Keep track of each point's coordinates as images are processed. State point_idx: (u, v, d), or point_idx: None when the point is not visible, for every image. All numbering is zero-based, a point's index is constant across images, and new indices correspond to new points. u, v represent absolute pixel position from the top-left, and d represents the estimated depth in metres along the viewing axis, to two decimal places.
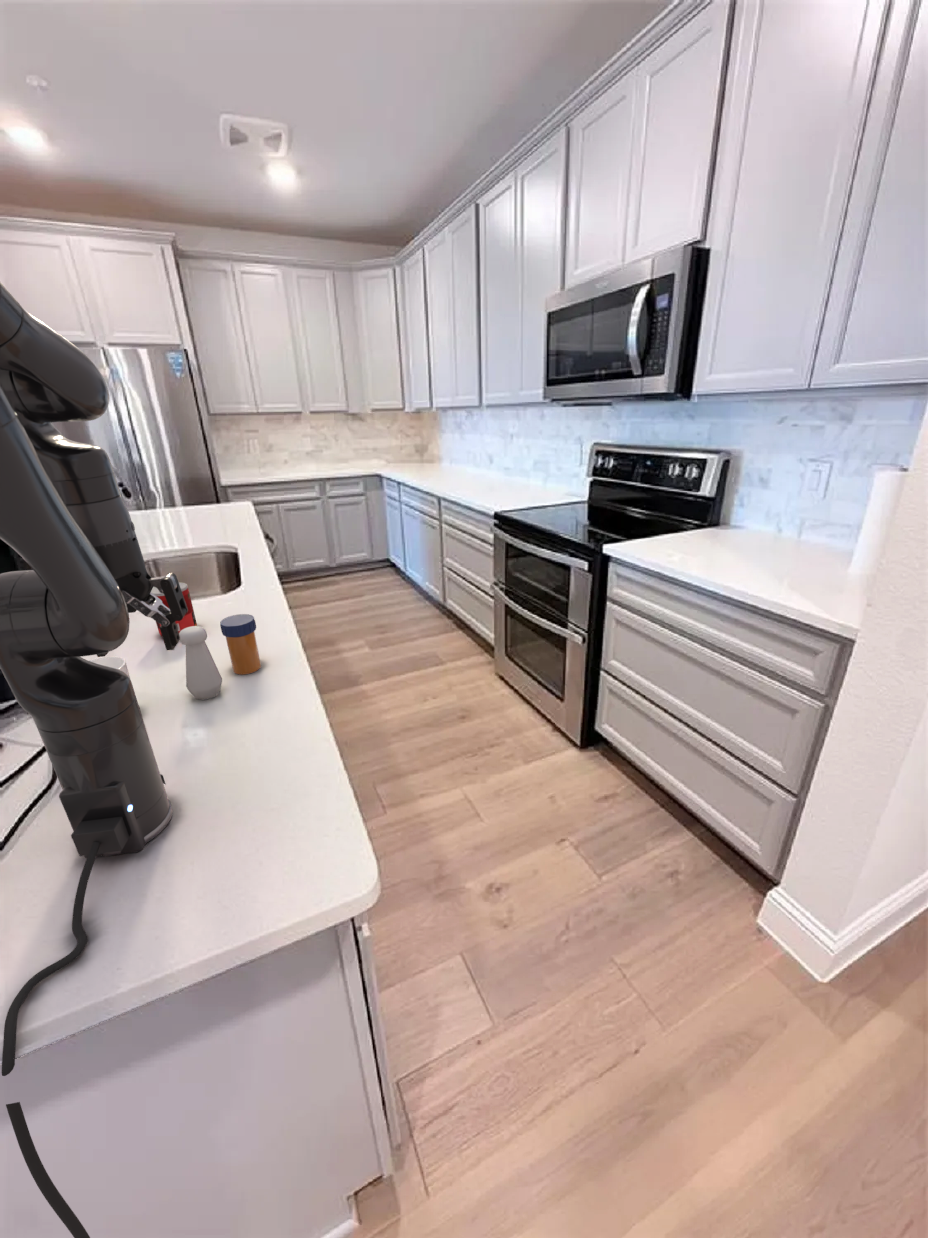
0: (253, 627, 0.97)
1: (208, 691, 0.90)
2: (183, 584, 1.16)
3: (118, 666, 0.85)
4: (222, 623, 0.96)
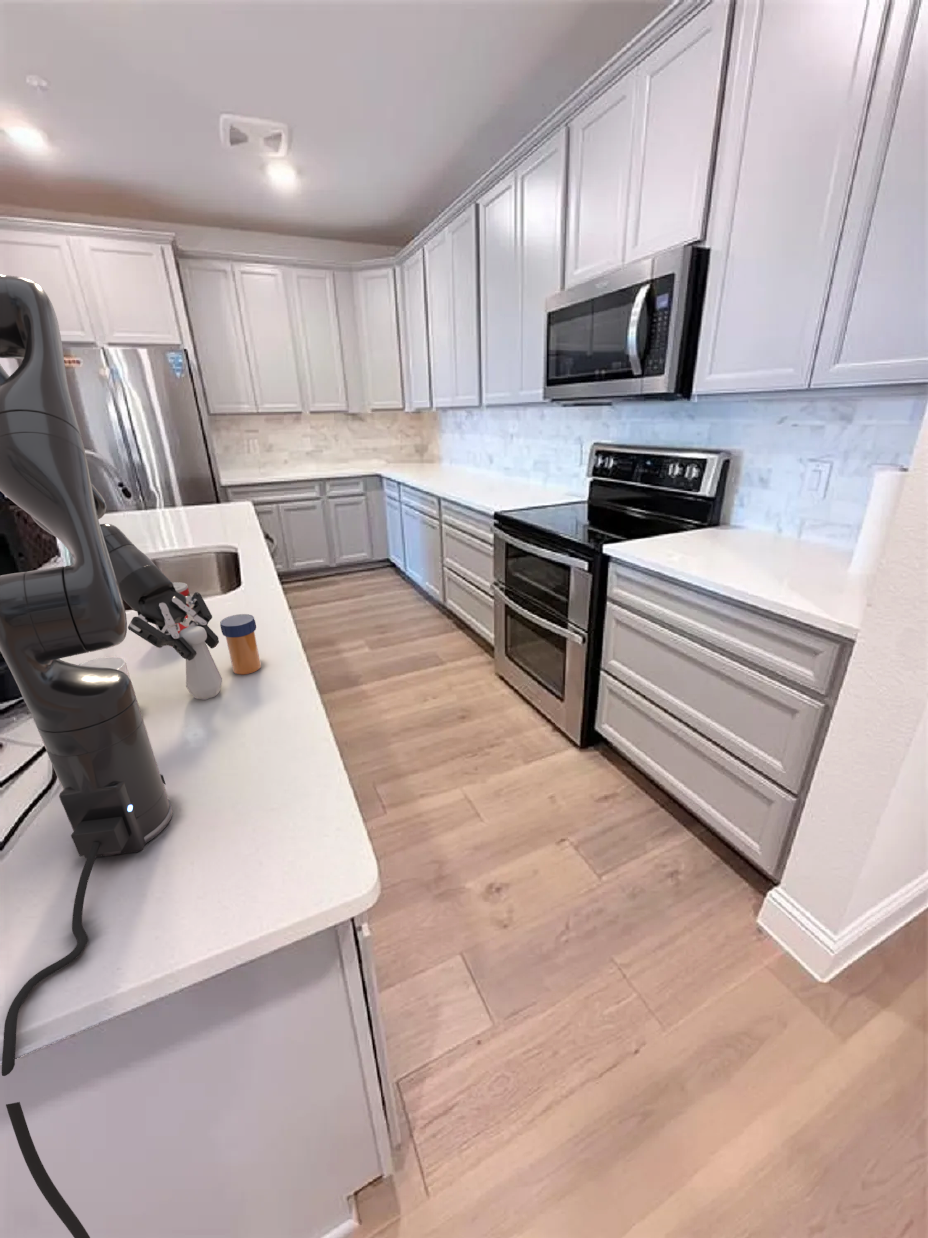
0: (253, 627, 0.97)
1: (208, 691, 0.90)
2: (183, 584, 1.16)
3: (118, 666, 0.85)
4: (222, 623, 0.96)
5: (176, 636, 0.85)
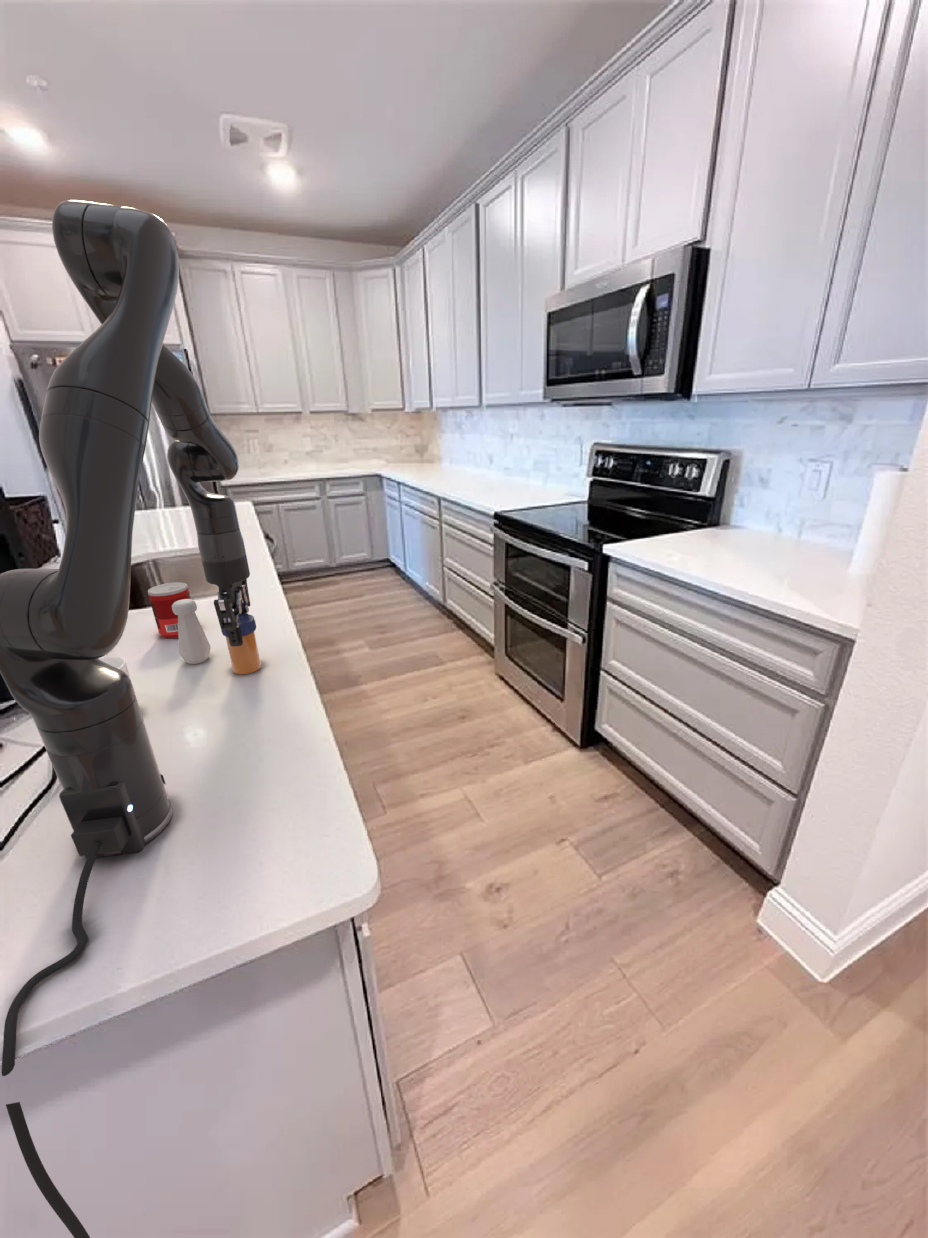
0: (253, 627, 0.97)
1: (198, 656, 1.02)
2: (183, 584, 1.16)
3: (118, 666, 0.85)
4: None
5: (239, 625, 0.94)
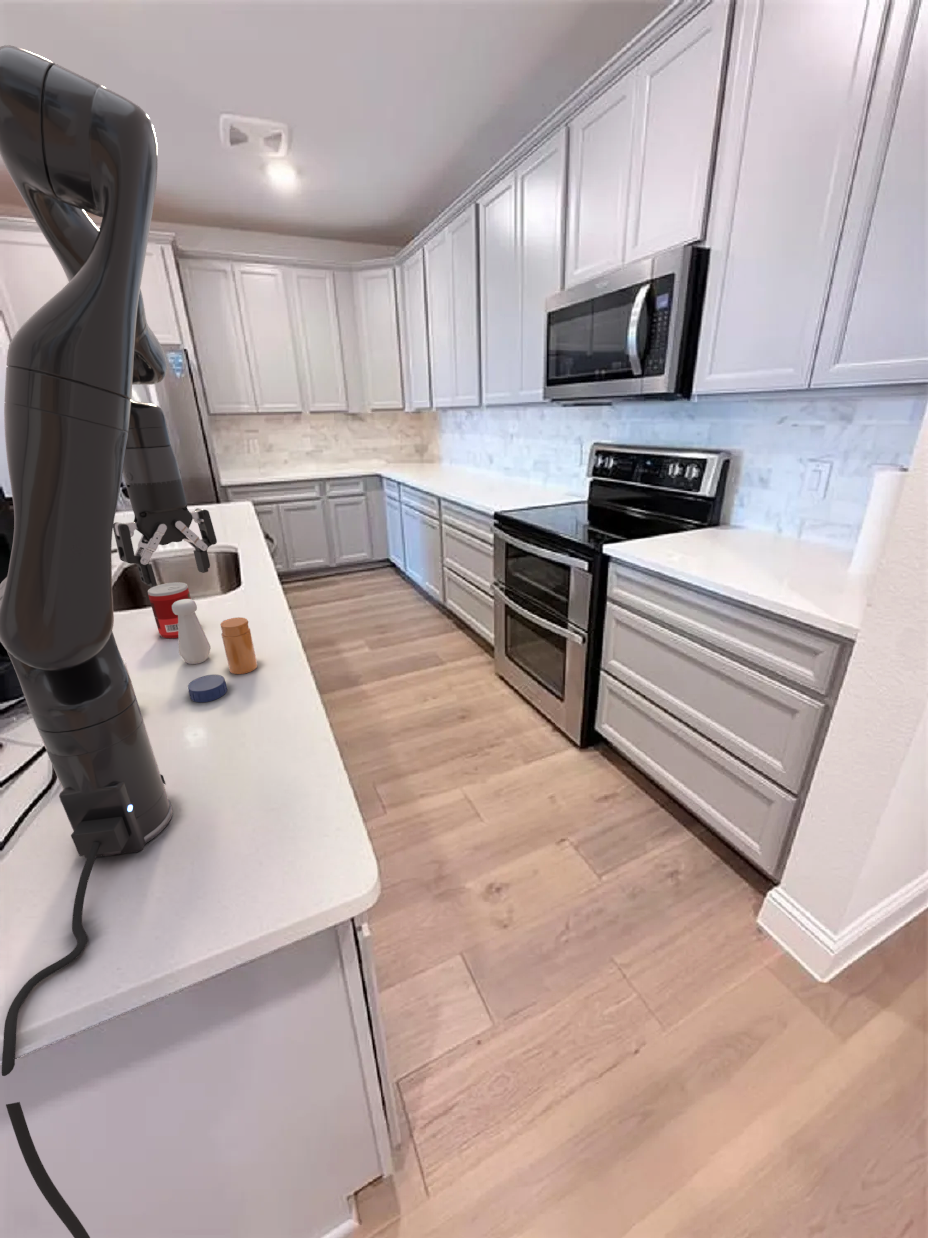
0: None
1: (198, 656, 1.02)
2: (183, 584, 1.16)
3: None
4: (219, 683, 0.91)
5: None
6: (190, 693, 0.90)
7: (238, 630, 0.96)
